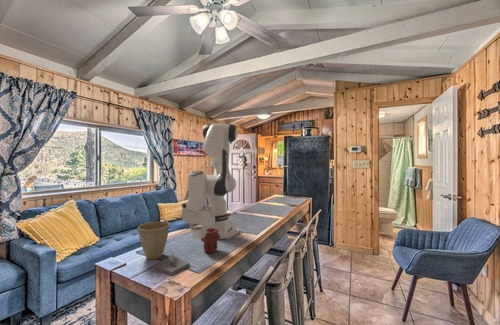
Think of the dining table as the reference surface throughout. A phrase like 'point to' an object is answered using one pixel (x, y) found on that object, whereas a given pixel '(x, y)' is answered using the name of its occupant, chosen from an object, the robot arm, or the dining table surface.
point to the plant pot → (153, 238)
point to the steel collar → (197, 232)
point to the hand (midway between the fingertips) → (198, 232)
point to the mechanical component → (211, 240)
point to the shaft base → (171, 265)
